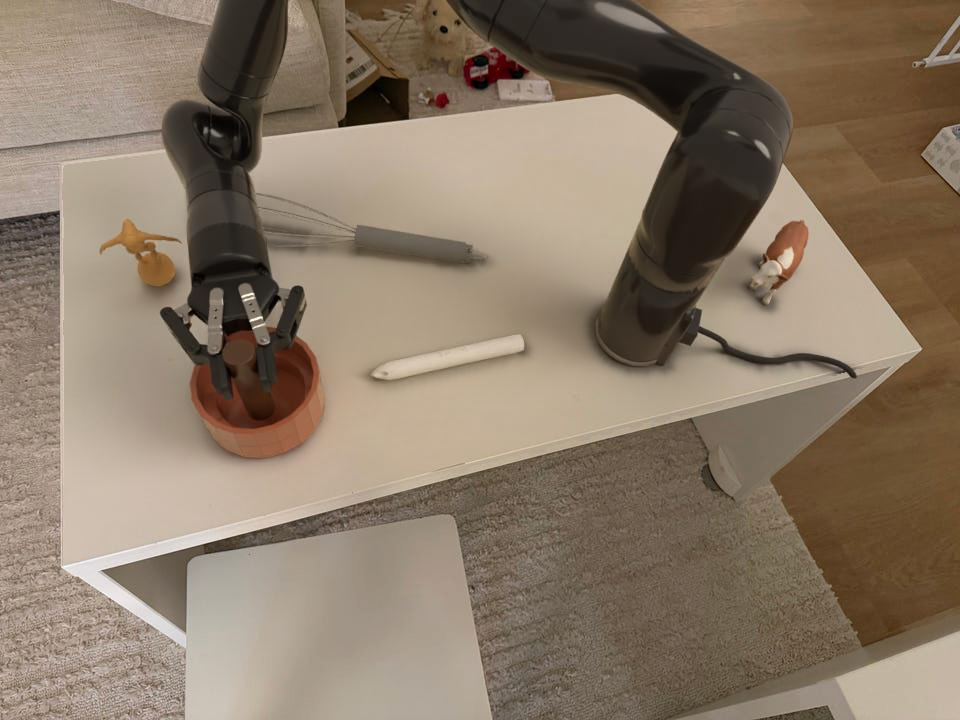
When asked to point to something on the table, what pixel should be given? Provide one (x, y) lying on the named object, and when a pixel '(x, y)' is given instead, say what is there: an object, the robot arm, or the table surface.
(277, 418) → the bowl
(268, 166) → the table surface
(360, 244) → the kitchen whisk
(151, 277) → the figurine
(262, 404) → the stirring stick
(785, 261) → the bull figurine
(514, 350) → the marker
